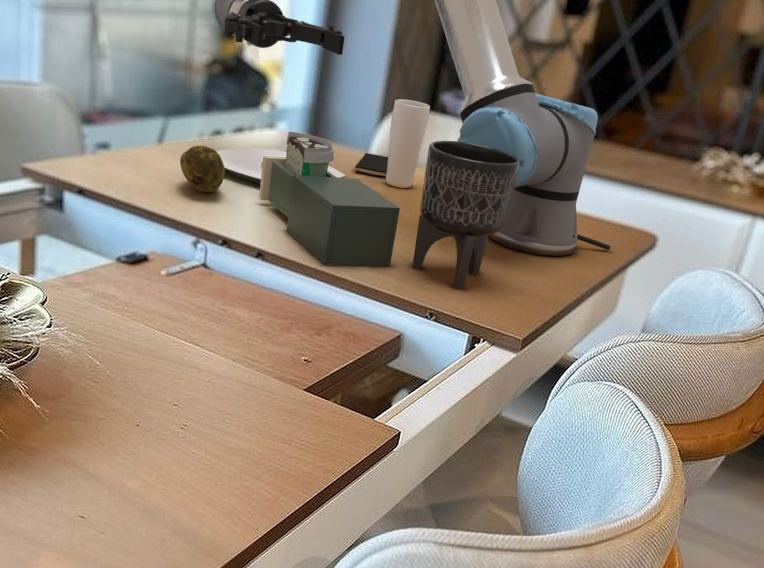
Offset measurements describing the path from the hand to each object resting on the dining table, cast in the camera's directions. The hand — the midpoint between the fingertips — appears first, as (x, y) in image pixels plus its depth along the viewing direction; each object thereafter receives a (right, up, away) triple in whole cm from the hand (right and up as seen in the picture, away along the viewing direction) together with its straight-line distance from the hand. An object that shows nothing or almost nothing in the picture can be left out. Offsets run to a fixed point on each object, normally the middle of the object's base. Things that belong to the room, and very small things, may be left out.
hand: (301, 41), depth 158 cm
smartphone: (+13, -4, +47) cm, 49 cm away
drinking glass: (+17, -10, +38) cm, 43 cm away
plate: (-7, -11, +29) cm, 32 cm away
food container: (+1, -24, +6) cm, 25 cm away
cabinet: (+6, -34, -5) cm, 35 cm away
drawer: (-1, -24, +8) cm, 25 cm away
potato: (-17, -20, +11) cm, 29 cm away
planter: (+22, -39, -8) cm, 45 cm away
